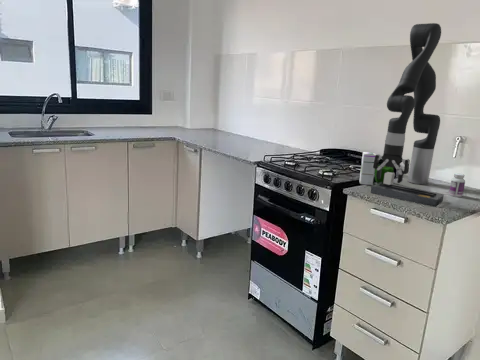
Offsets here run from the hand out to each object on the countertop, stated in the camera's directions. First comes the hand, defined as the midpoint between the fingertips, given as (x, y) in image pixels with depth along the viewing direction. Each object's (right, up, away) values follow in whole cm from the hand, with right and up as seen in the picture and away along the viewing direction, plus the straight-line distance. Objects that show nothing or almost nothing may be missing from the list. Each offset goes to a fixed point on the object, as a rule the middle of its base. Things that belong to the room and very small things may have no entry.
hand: (388, 180), depth 168 cm
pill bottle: (+31, -7, +4) cm, 32 cm away
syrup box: (-5, -1, +16) cm, 17 cm away
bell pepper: (+4, -1, +19) cm, 20 cm away
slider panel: (+6, -7, -3) cm, 10 cm away
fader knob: (0, -2, +1) cm, 2 cm away
